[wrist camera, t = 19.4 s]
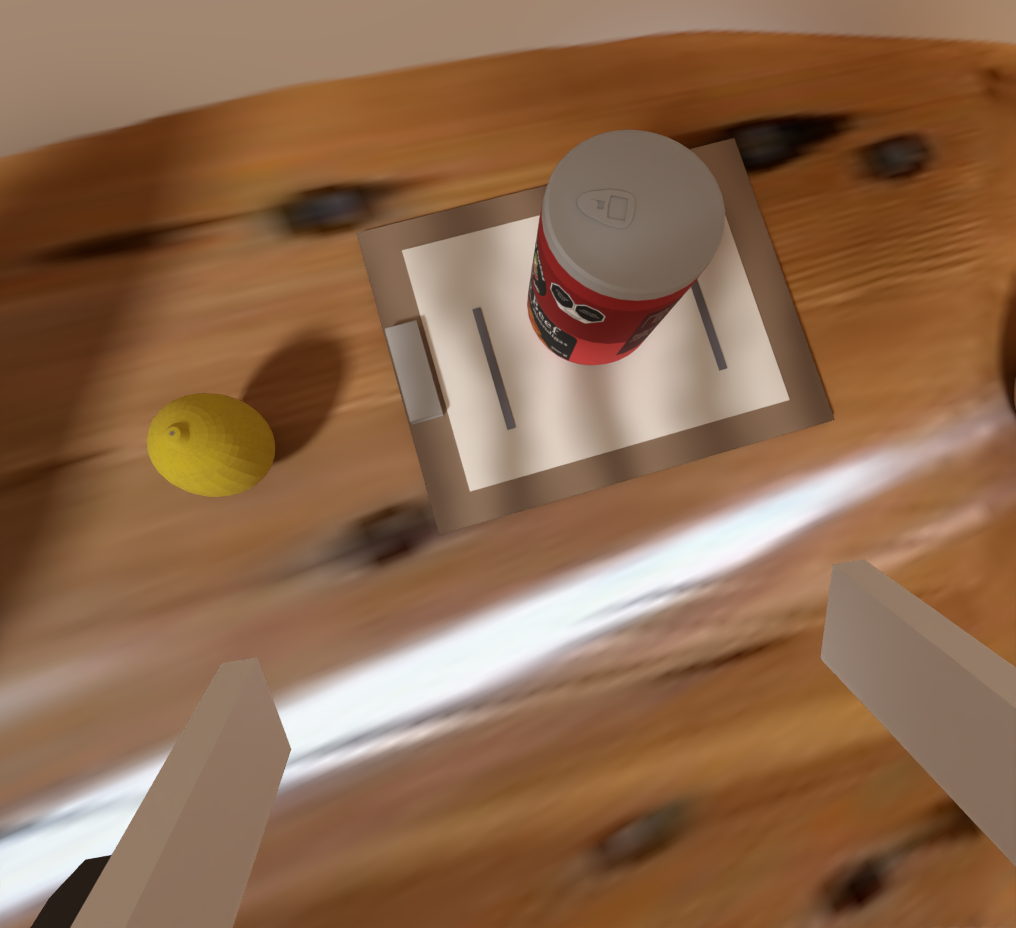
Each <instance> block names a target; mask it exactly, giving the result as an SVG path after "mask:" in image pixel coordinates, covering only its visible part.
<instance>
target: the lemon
mask: <svg viewBox="0 0 1016 928" xmlns="http://www.w3.org/2000/svg"><path fill="white" fill-rule="evenodd" d="M147 449H148V453H149V456H150V459H151V461H152V463H153V465H154V466H155V468H156V469H157V471H158V472H159V473H160V474H161V475H162V476H163V477H164V478H166V479H167V480H168V481H169V482H170V483H172V484H174V485H175V486H177V487H179V488H181V489H183V490H185V491H188V492H190V493H194V494H199V495H203V496H208V497H220V496H230V495H234V494H237V493H241V492H244V491H246V490H248V489H249V488H251V487H253V486H255V485H256V484H257V483H258V482H260V481H261V480H262V479H263V478H264V477H265V476H266V474H267V472H268V471H269V469H270V468H271V466H272V463H273V460H274V457H275V441H274V436H273V433H272V431H271V429H270V427H269V425H268V423H267V422H266V420H265V419H264V418H263V417H262V416H261V415H260V414H259V412H258V411H256V410H255V409H253V408H252V407H251V406H249V405H248V404H246V403H244V402H243V401H240V400H237V399H235V398H232V397H229V396H225V395H219V394H208V393H201V394H193V395H187V396H184V397H181V398H179V399H176V400H174V401H172V402H170V403H169V404H168V405H166V406H165V407H163V408H162V409H161V410H160V411H159V413H158V414H157V415H156V416H155V417H154V419H153V421H152V423H151V425H150V427H149V431H148V435H147Z"/></svg>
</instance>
